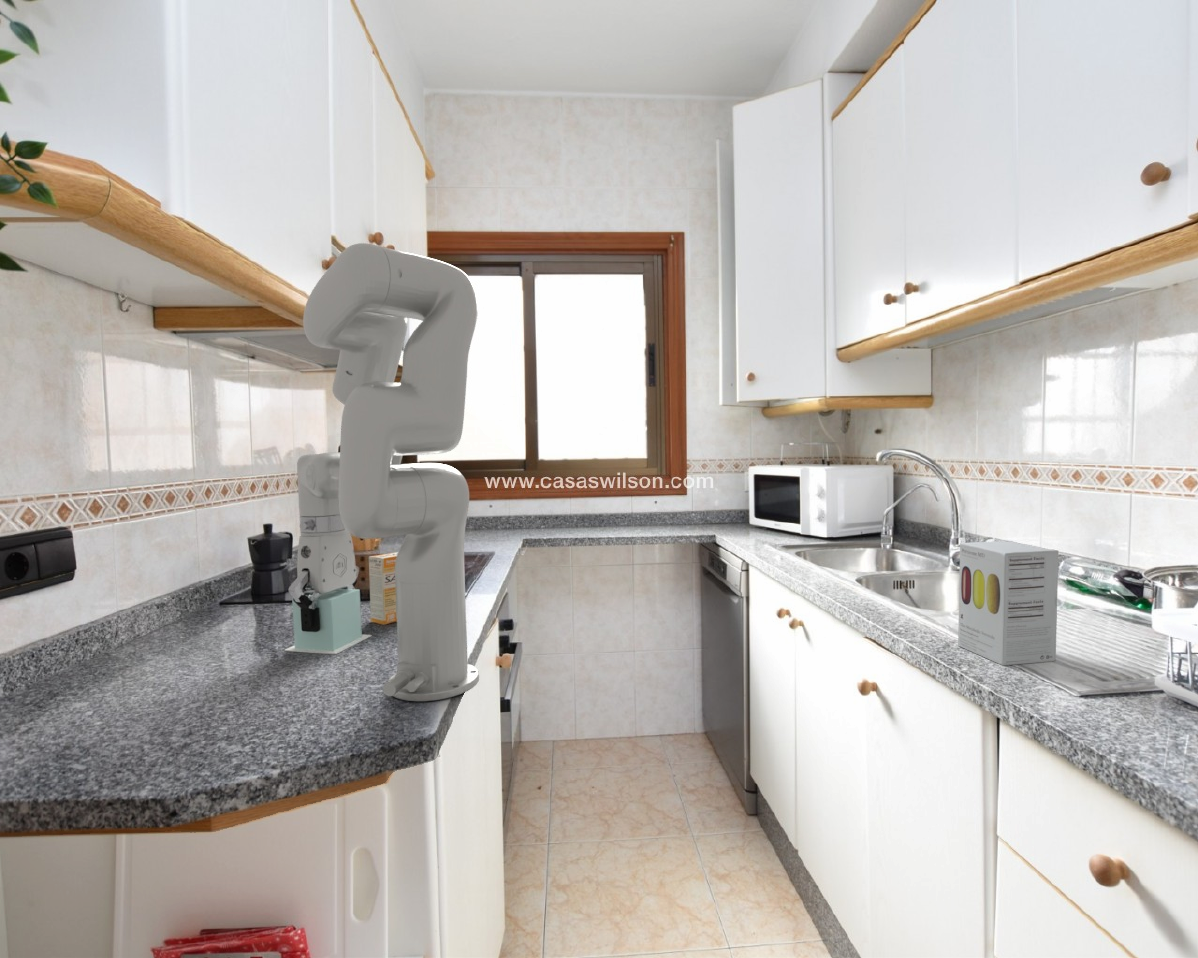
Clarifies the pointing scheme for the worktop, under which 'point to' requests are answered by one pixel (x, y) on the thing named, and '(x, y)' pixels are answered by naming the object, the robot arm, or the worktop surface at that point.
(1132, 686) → the worktop surface
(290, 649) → the tape square
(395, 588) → the robot arm
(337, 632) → the mint foam cube
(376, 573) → the supplement box
